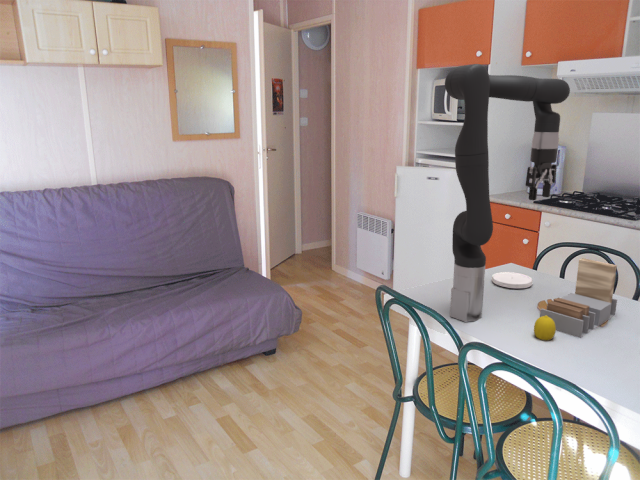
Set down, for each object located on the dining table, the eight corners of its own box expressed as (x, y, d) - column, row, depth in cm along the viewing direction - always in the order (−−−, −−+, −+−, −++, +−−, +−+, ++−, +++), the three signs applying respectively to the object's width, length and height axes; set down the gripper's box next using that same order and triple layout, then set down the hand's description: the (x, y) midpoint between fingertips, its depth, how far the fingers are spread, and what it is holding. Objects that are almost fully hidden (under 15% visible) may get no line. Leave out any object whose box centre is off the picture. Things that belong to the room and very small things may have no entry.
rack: (580, 342, 143) (582, 321, 141) (538, 329, 152) (540, 308, 150) (614, 319, 158) (617, 299, 156) (574, 308, 167) (577, 289, 165)
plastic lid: (484, 279, 196) (485, 273, 195) (518, 277, 198) (519, 271, 198) (503, 292, 183) (504, 285, 182) (539, 289, 185) (540, 282, 184)
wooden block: (606, 317, 156) (613, 267, 152) (573, 307, 163) (579, 259, 159) (609, 315, 158) (616, 265, 154) (576, 305, 165) (582, 258, 161)
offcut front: (576, 335, 144) (579, 311, 143) (545, 325, 151) (547, 303, 149) (580, 332, 146) (583, 309, 144) (549, 322, 153) (551, 300, 151)
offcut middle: (582, 331, 147) (585, 308, 145) (551, 321, 153) (554, 299, 152) (586, 328, 148) (589, 306, 147) (555, 319, 155) (558, 297, 153)
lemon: (536, 336, 148) (538, 310, 146) (556, 341, 144) (559, 314, 142) (529, 342, 143) (532, 316, 141) (550, 348, 140) (553, 321, 138)
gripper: (544, 145, 167) (539, 194, 171) (521, 147, 158) (516, 199, 162) (567, 146, 161) (561, 197, 165) (545, 148, 152) (539, 202, 156)
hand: (539, 198), depth 164 cm, fingers open, 8 cm apart
